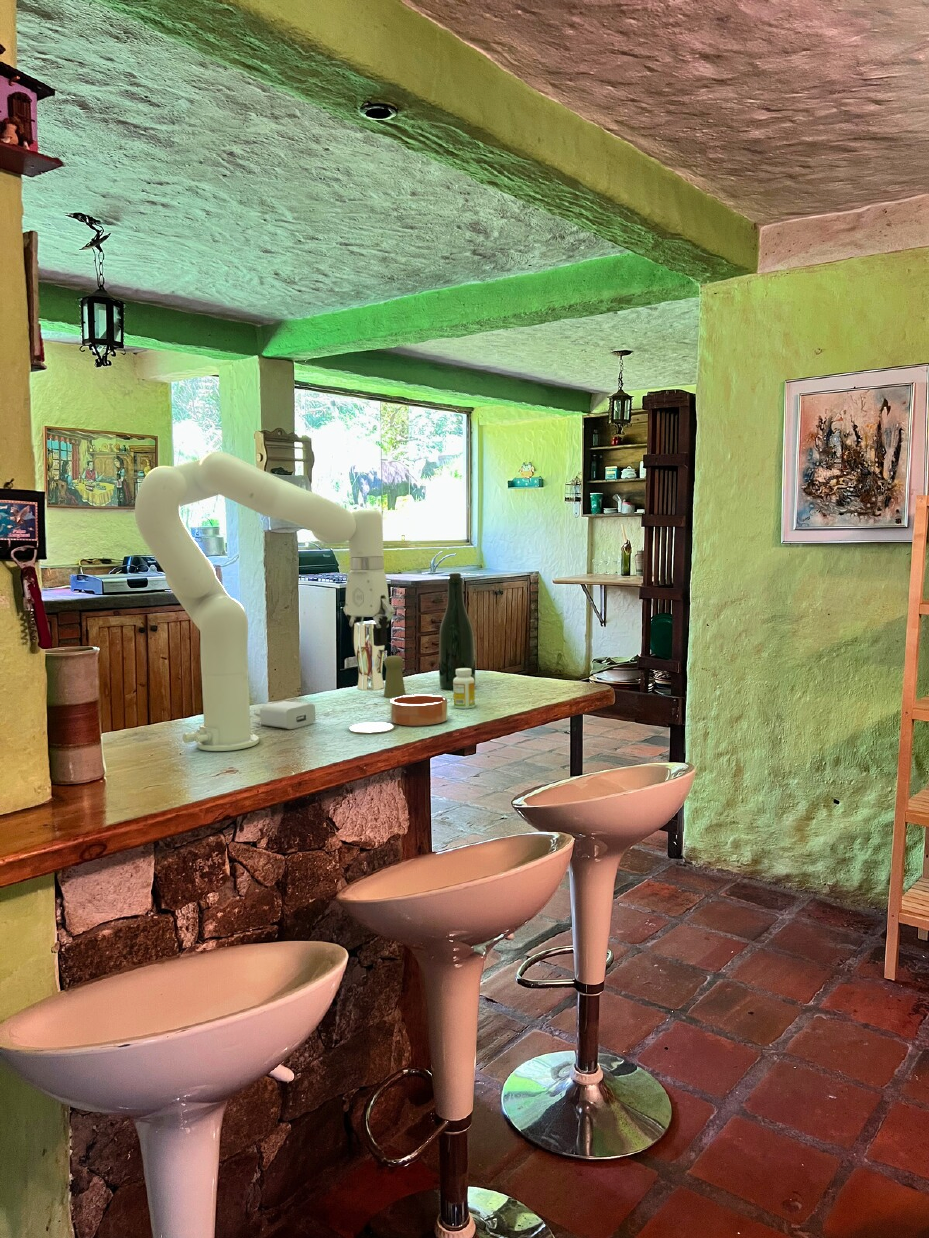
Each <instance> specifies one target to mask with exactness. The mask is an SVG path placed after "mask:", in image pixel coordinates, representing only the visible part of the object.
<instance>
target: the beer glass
mask: <svg viewBox="0 0 929 1238" xmlns="http://www.w3.org/2000/svg"><path fill="white" fill-rule="evenodd" d="M374 628H377V627H376V625H375V622H374V620H367V621H364V620H363V622H356V623H354V644H353V649H354V655H355V660H356V664H357V670H358V681H357V690H358V691H362V692H363V691H365V692H372V691H374V692H375V691H381V690H385V682H384V678H383V666H384V660H385V652H386V651H385V650H386V645H384V646H375V638H374Z"/></svg>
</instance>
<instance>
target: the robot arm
mask: <svg viewBox="0 0 929 1238" xmlns="http://www.w3.org/2000/svg"><path fill="white" fill-rule="evenodd" d="M218 495H220V496H222V497H224V498H226V499H228V500H230V501H233V502H235V503H237V504H239V505H241V506H243V507H246V508H248V509H250V510H251V511H254V512H256V513H258V514H260V515H262V516H265V517H268V518H271V519H275V520H280V521H286V522H289V523H292V524H295V525H298V526H300V527H303V528H305V529H307V530H310V531H311V533H312V535H313V536H314V538H315V539H316V540H318V542H321V543H324V544H341V543H346V542H348V551H349V553H348V554H349V562H348V563H349V571H347V576H346V582H345V583H346V586H345V604H344V607H343V608H342V609H343V610H342V611H343V612H344V614H345V616H346V619H347V621H348V622H349V623H348V624H349V626H350V629H351V630H350V631H351V644H352V645H354V623H356V622H364V619H365V617H366V618H370V617H372V619H373V621H374V622H375V625H376V627H377V628H374V638H375V646H384V645H385V646H387V645H388V628H389V626H390V625H389V624H390V622H391V621H392V618H393V617H394V615H395V612H396V611H395V608H393V606H392V605H391V604H390V599H389V597H390V596H389V586H388V581H387V575H386V572H385V568H384V566H385V563H384V533H383V531H384V530H383V514H382V513H381V511H380V510H378V509H374V508H373V509H371V508H369V509H367V508H365V509H364V508H363V509H353V510H351V511H350V510H349V509H347V508H345V507H344V506H342V505H340V504H338V503H335V502H334V501H332V500H329V499H327V498H325V497H324V496H322V495H319V494H318V493H315V492H313V491H310V490H308V489H305V488H302V487H300V486H298V485H296V484H293V483H292V482H290V481H288V480H287V481H286V480H284V479H281V478H279V477H278V476H276V475H274V474H272V473H270V472H267V471H265V470H264V469H261V468H259V467H257V466H255V465H254V464H252V463H248V462H247V461H245V460H243V459H241V458H239V457H238V456H235V455H234V454H230V453H228V452H225V451H221V450H218V451H212V452H210V453H207V454H206V455H204V456H203V457H201V458H198V459H195V460H192V461H188V462H184V463H182V464H177V465H174V466H169V465H160V466H157V467H154V468H153V469H151V470H149V471H148V473H147V474H146V475H145V477H144V478H143V479H142V483H141V484H140V486H139V489H138V491H137V494H136V498H135V501H134V502H135V503H134V517H135V522H136V527H137V529H138V532H139V534H140V536H141V538H142V539H143V541H144V543H145V544H146V546H147V548H148V549H149V551H150V552H151V554H152V556H153V557H154V559H155V561H156V562H157V563H158V564H159V566H160V568H161V570H162V571H163V572H164V575H165V581H166V584H167V586H168V588H169V589H170V591H171V592H172V593H173V595H174V596H175V598H176V599H177V600H178V602H179V604H180V605H181V606H182V608H183V610H185V613H186V614H187V615H188V616H189V618H190V619H191V621H192V623H194V625H195V626H196V628H197V629H198V630H199V634H200V635H199V638H200V643H199V644H200V646H199V647H200V649H199V650H200V673H201V690H202V709H203V710H202V711H203V725H199V726H198V727H199V729H197V730H196V732H187V733H184V734H183V735H182V741H183V743H184V744H190V743H194V742H196V746H197V748H198V749H200V750H201V751H207V752H227V751H228V752H229V751H237V750H243V749H248V748H251V747H254V746H256V745H258V743H260V742H259V741H260V737H259V736H258V735H257V734H254V733H252V727H251V726H252V725H251V707H250V703H251V702H250V683H249V680H250V679H249V663H248V661H249V660H248V638H249V621H248V615H247V612H246V610H245V608H244V606H243V605H242V604H241V603H240V602H239V601H238V600H237V599H235V598H234V597H231V596H230V595H229V593H228V592H227V590H226V588H224V586H223V585H222V583H221V582H220V580H219V578H218V577H217V575H216V569H215V567H214V565H213V563H212V562H211V561H210V559H208V557H207V556H206V555H205V553H204V552H203V551H202V549H201V548H200V547H199V544H198V543H197V542H196V541H195V539H194V537H193V536H192V534H191V532H190V530H189V529H188V527H187V526H186V524H185V523H184V522H183V518H182V515H181V507H182V506H186V505H189V504H194V503H196V502H200V501H204V500H207V499H210V498H212V497H216V496H218Z"/></svg>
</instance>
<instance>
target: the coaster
mask: <svg viewBox="0 0 929 1238" xmlns="http://www.w3.org/2000/svg"><path fill="white" fill-rule="evenodd" d="M394 730H395V725H394V724H392V723H387V722H363V723H358V724H354V725H352V726H350V727H349V732H351V733H353V734H359V735H377V734H385V733H388V732H392V731H394Z"/></svg>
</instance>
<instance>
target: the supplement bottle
mask: <svg viewBox="0 0 929 1238" xmlns="http://www.w3.org/2000/svg"><path fill="white" fill-rule="evenodd" d="M471 673H472V672H471V669H470V668H459V669H456V675H457V677H456V678H454V680H453V689H454V690H453V707H454V708H456V709H463V710H467V709H472V708H475V706H476V692H475V691H476V690H475V687H476V683H475V684H474V678H473V677H471Z"/></svg>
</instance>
